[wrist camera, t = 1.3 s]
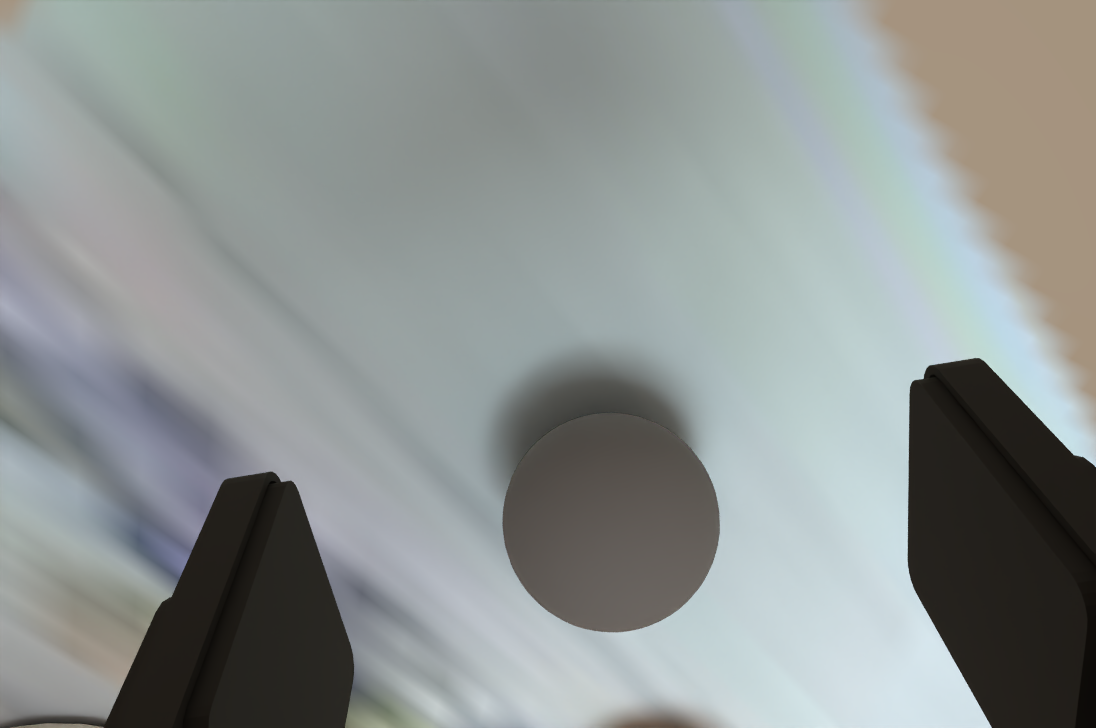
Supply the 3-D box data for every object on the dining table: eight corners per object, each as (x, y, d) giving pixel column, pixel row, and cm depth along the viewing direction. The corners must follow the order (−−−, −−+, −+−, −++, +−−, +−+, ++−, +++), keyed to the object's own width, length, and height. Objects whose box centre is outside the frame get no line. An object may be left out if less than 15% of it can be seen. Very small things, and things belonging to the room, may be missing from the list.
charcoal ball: (706, 524, 31) (748, 662, 26) (520, 553, 32) (524, 696, 26) (688, 359, 29) (732, 475, 23) (485, 392, 29) (482, 515, 23)
